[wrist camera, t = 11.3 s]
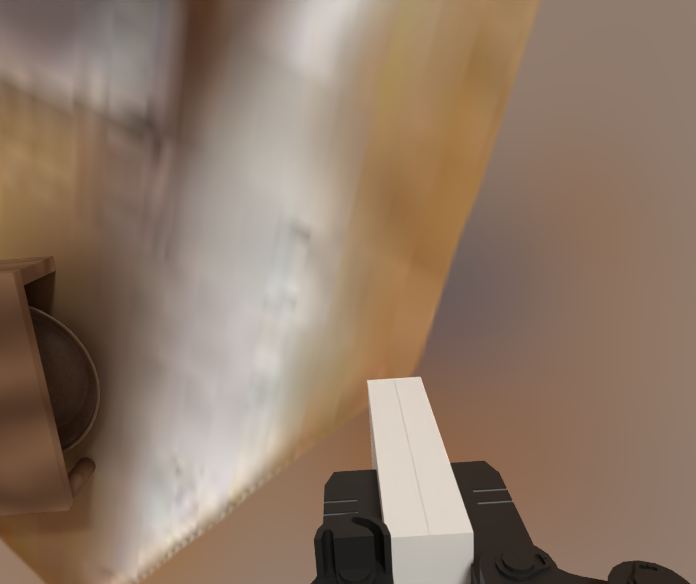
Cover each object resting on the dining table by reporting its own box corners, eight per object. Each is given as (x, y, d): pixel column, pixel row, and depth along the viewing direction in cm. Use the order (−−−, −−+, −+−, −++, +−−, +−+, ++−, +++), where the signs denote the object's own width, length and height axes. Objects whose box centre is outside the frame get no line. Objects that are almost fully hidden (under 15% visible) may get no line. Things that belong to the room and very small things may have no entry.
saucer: (90, 467, 53) (77, 484, 50) (-73, 419, 51) (-95, 434, 49) (129, 324, 49) (117, 334, 47) (-44, 268, 48) (-67, 275, 45)
